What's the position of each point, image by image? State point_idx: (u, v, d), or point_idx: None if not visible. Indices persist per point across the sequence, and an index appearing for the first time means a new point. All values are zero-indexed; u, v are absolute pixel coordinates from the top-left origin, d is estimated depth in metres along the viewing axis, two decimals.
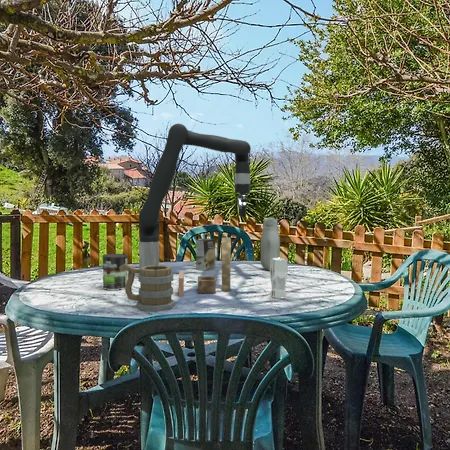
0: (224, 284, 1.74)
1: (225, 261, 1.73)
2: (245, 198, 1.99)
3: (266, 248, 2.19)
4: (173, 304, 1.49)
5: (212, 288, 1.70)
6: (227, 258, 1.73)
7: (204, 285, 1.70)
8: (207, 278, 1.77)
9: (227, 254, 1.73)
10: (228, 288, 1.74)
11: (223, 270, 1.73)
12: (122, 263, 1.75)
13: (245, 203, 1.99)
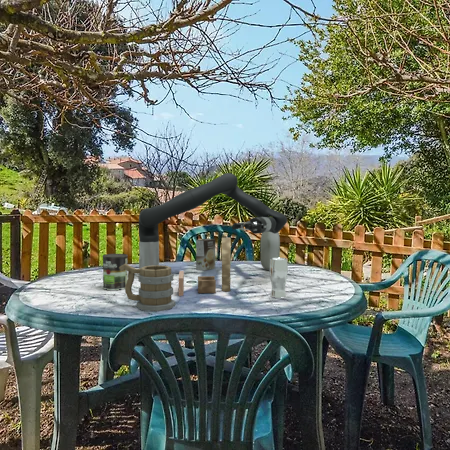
0: (224, 284, 1.74)
1: (225, 261, 1.73)
2: (265, 228, 1.86)
3: (266, 248, 2.19)
4: (173, 304, 1.49)
5: (212, 288, 1.70)
6: (227, 258, 1.73)
7: (204, 285, 1.70)
8: (207, 278, 1.77)
9: (227, 254, 1.73)
10: (228, 288, 1.74)
11: (223, 270, 1.73)
12: (122, 263, 1.75)
13: (261, 228, 1.84)
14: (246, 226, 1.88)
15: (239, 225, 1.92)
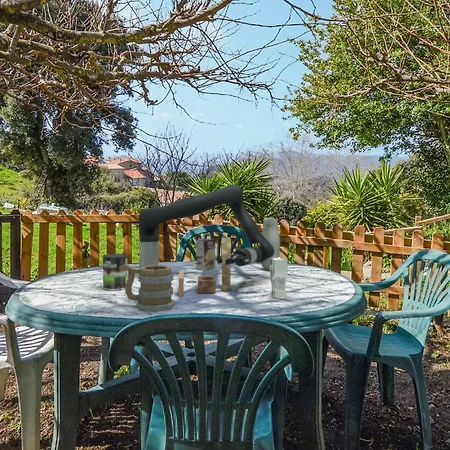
0: (224, 284, 1.74)
1: (225, 261, 1.73)
2: (245, 262, 1.75)
3: None
4: (173, 304, 1.49)
5: (212, 288, 1.70)
6: (227, 258, 1.73)
7: (204, 285, 1.70)
8: (207, 278, 1.77)
9: (227, 254, 1.73)
10: (228, 288, 1.74)
11: (223, 270, 1.73)
12: (122, 263, 1.75)
13: (240, 262, 1.74)
14: None
15: None
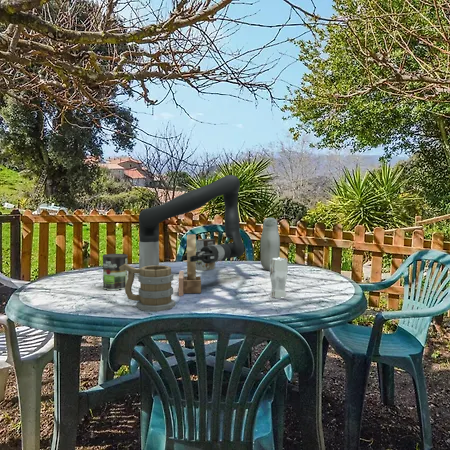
0: None
1: None
2: (211, 259, 1.74)
3: (266, 248, 2.19)
4: (173, 304, 1.49)
5: (197, 288, 1.70)
6: (192, 255, 1.71)
7: (189, 285, 1.69)
8: None
9: (192, 251, 1.71)
10: None
11: (188, 267, 1.72)
12: (122, 263, 1.75)
13: (206, 259, 1.73)
14: None
15: None
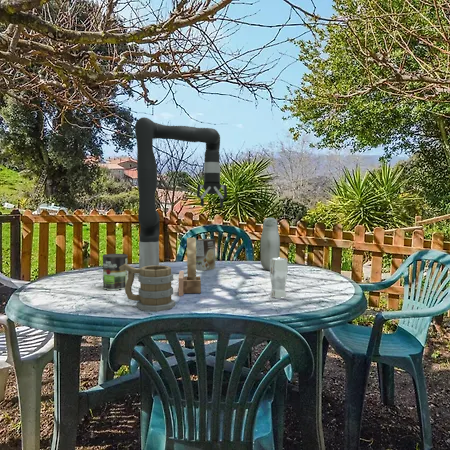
0: None
1: (190, 261, 1.72)
2: None
3: (266, 248, 2.19)
4: (173, 304, 1.49)
5: (197, 288, 1.70)
6: (192, 258, 1.72)
7: (189, 285, 1.69)
8: None
9: (192, 254, 1.72)
10: None
11: (188, 270, 1.72)
12: (122, 263, 1.75)
13: None
14: (209, 193, 1.99)
15: (199, 190, 1.98)
